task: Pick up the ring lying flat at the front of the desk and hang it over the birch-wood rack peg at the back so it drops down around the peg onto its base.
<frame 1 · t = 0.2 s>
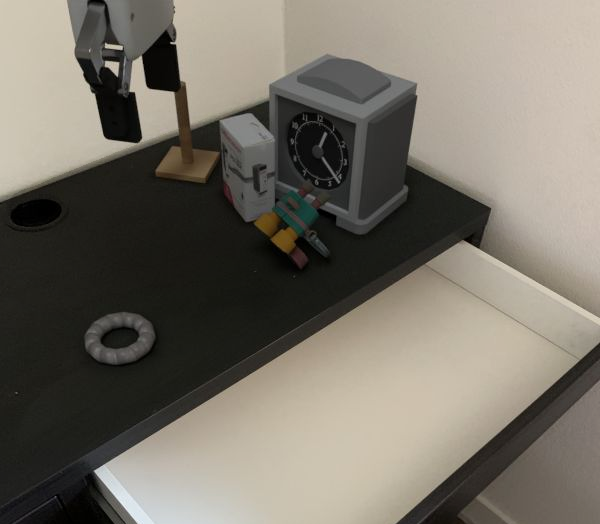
hand: (144, 113, 58), 27 cm above the table, tool pointing down, fingers open, 9 cm apart
ink box: (249, 206, 98), on the table
rack: (188, 167, 105), on the table
alarm clock: (335, 195, 101), on the table
teal and yellow figure: (292, 259, 90), on the table
ring: (120, 337, 77), point 1 cm above the table
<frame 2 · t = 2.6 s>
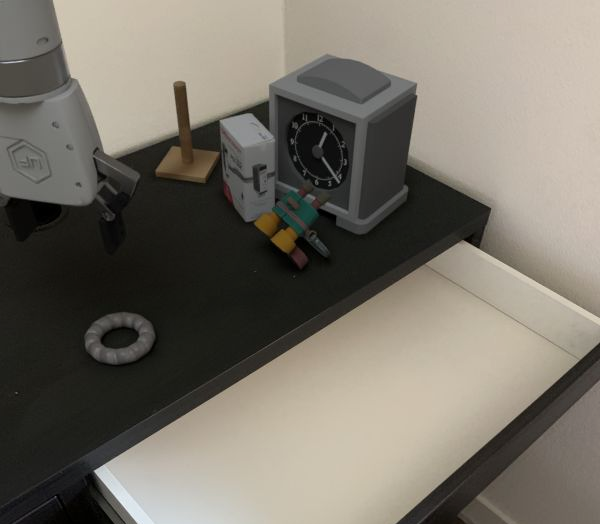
hand: (71, 240, 68), 14 cm above the table, tool pointing down, fingers open, 9 cm apart
nothing on the table moved.
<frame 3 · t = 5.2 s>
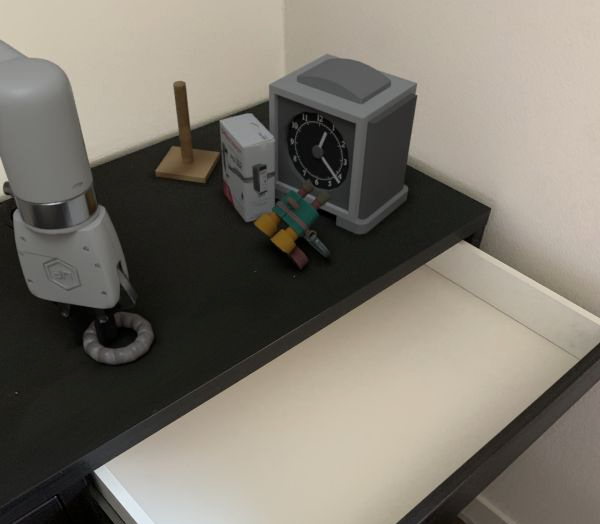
hand: (96, 336, 78), 0 cm above the table, tool pointing down, fingers closed on ring, 2 cm apart
ring: (118, 337, 77), point 1 cm above the table, touching gripper
everything else where it was.
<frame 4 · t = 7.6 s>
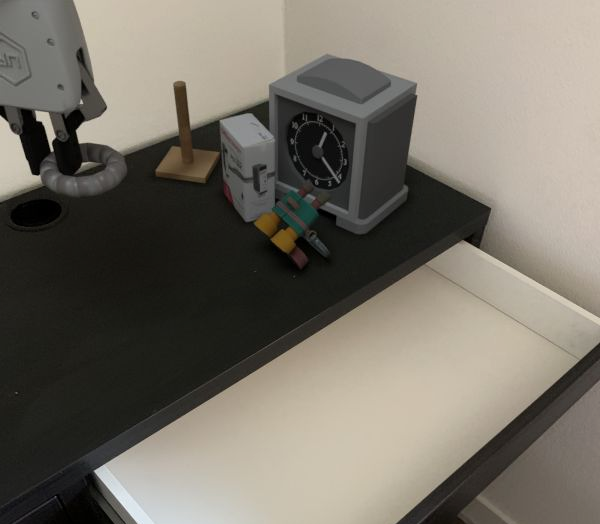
hand: (57, 169, 64), 21 cm above the table, tool pointing down, fingers closed on ring
ring: (83, 169, 64), point 21 cm above the table, touching gripper
everything else where it was.
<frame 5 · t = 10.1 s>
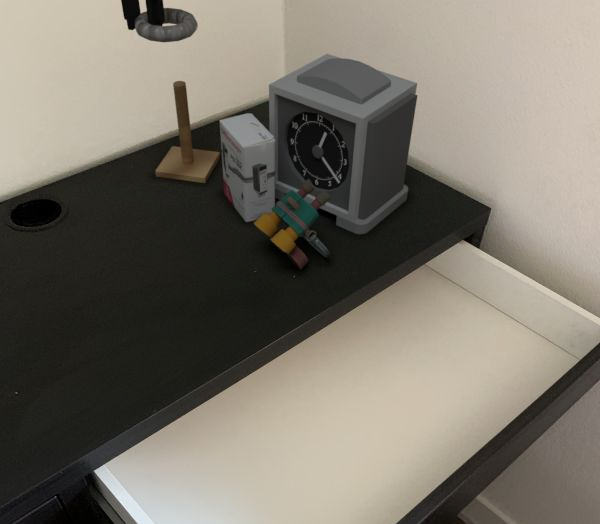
hand: (145, 26, 87), 21 cm above the table, tool pointing down, fingers closed on ring
ring: (165, 24, 86), point 22 cm above the table, touching gripper
everything else where it was.
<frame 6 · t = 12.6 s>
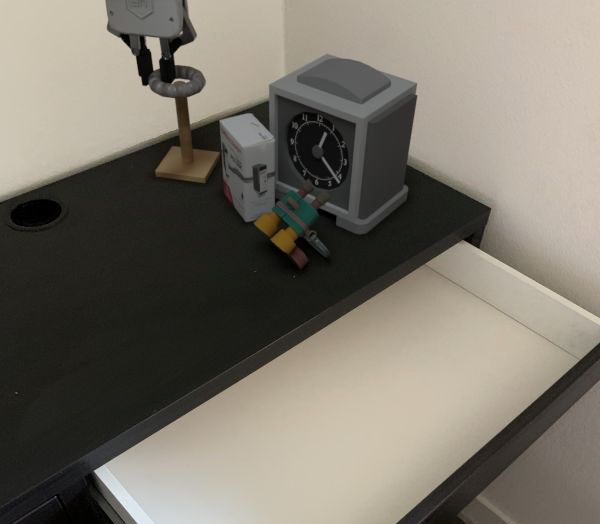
hand: (158, 82, 95), 13 cm above the table, tool pointing down, fingers closed on ring
ring: (176, 81, 95), point 13 cm above the table, touching gripper
everything else where it was.
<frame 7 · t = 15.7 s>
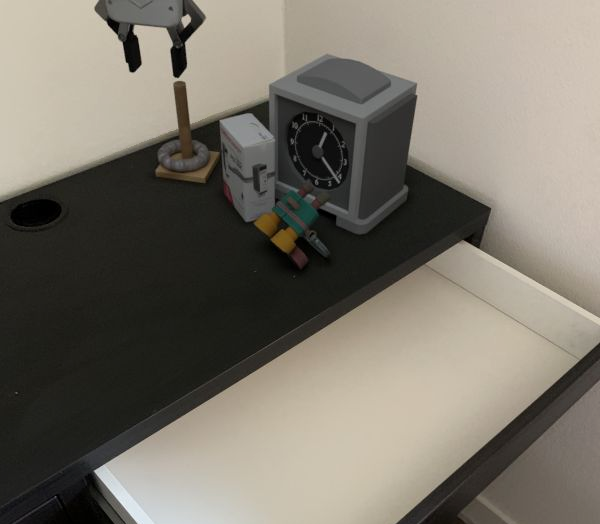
hand: (157, 70, 94), 15 cm above the table, tool pointing down, fingers open, 5 cm apart
ring: (183, 155, 103), point 2 cm above the table, touching rack
everything else where it was.
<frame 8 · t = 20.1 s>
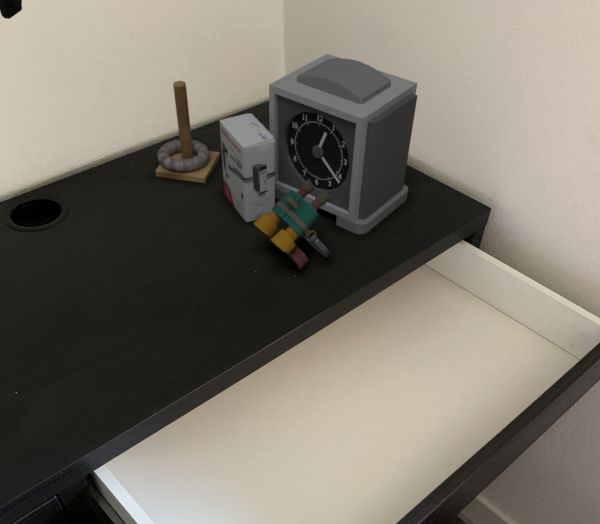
nothing on the table moved.
at the end: ring 0.6 cm from the rack (horizontally); ring point 1.9 cm above the table; the gripper is holding nothing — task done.
